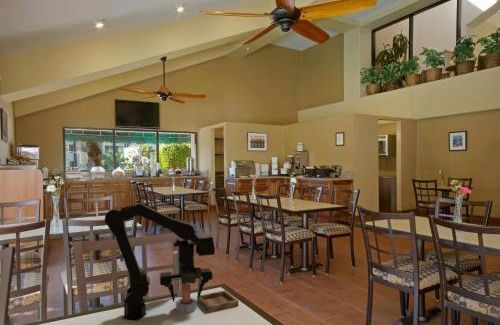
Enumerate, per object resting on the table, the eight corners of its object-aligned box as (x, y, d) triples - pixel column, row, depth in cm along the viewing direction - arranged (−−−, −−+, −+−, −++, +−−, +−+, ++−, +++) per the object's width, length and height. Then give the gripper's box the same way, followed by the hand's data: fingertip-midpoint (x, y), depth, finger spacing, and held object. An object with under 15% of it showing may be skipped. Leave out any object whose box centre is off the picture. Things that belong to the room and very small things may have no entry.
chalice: (193, 293, 141) (193, 250, 141) (188, 299, 134) (188, 254, 134) (176, 292, 142) (176, 249, 142) (170, 299, 135) (170, 254, 135)
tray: (208, 314, 121) (208, 307, 121) (197, 302, 132) (197, 295, 132) (238, 307, 127) (238, 300, 127) (225, 296, 138) (225, 290, 138)
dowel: (180, 310, 123) (180, 285, 123) (184, 306, 126) (184, 282, 126) (188, 311, 122) (188, 286, 122) (191, 307, 125) (191, 283, 125)
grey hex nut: (172, 313, 122) (172, 304, 122) (182, 305, 129) (182, 296, 129) (190, 316, 120) (190, 306, 120) (199, 307, 127) (199, 298, 127)
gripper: (161, 265, 114) (161, 312, 114) (215, 260, 120) (216, 304, 120) (159, 257, 124) (159, 299, 124) (209, 252, 130) (209, 293, 130)
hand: (186, 299), depth 124 cm, fingers open, 9 cm apart
